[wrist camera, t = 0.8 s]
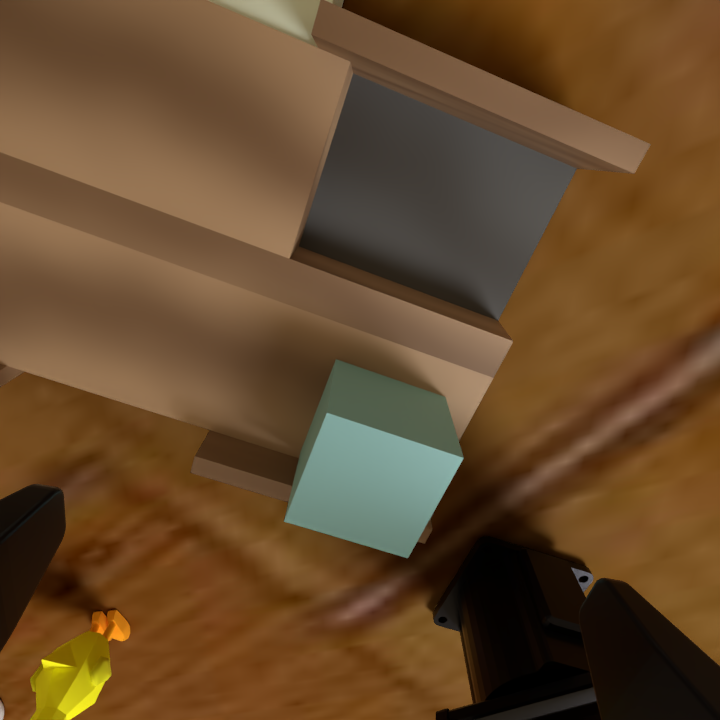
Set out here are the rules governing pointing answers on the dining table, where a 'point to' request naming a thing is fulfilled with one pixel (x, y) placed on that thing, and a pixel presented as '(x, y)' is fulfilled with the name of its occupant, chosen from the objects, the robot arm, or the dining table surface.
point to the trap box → (264, 214)
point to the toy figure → (77, 669)
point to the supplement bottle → (1, 710)
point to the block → (374, 461)
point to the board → (280, 14)
